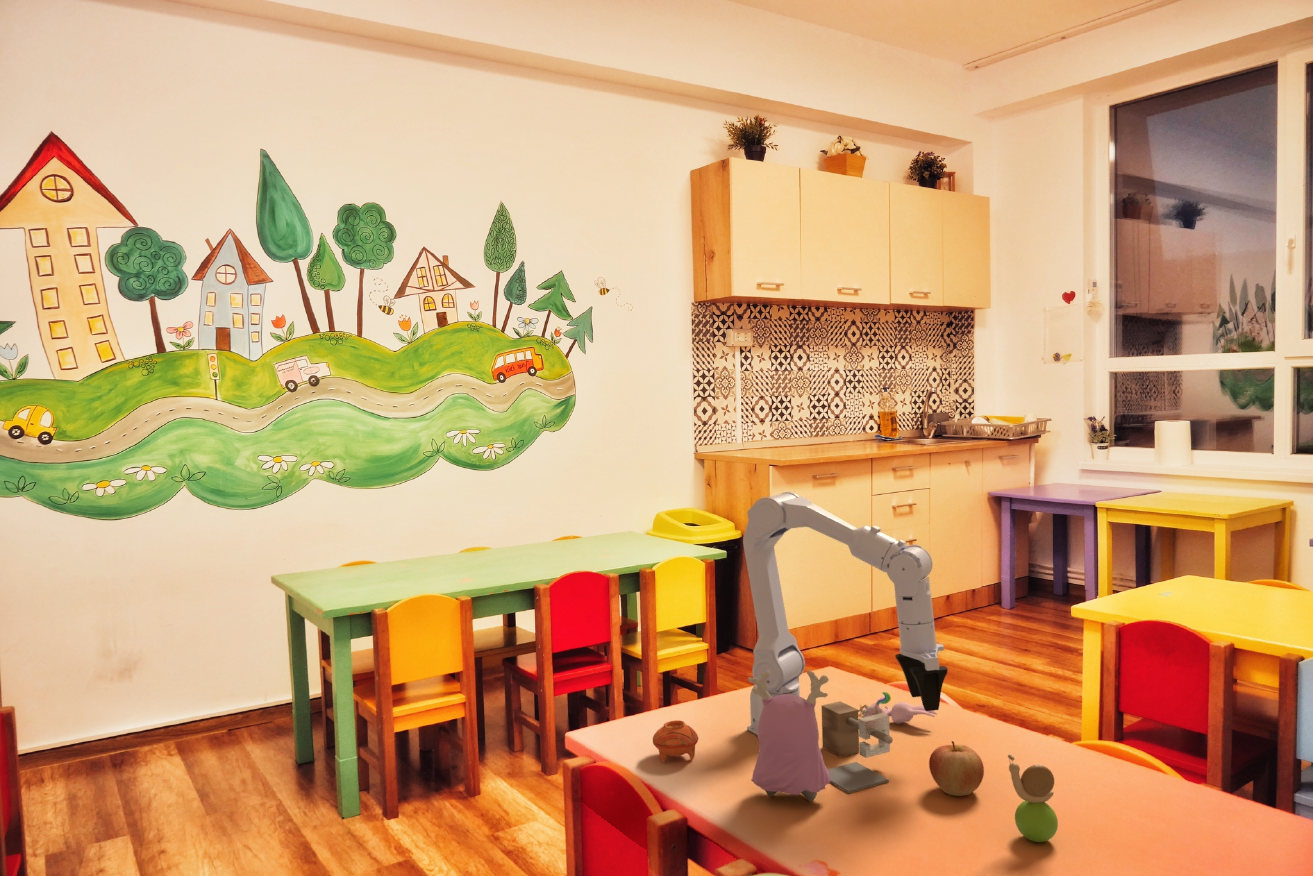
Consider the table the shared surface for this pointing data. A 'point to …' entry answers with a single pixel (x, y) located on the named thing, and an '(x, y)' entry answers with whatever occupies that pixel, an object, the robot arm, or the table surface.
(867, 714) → the rabbit figure
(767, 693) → the toy character
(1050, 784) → the snail figurine
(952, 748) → the apple
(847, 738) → the stand
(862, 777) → the mat
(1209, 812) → the table surface
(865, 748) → the link
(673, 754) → the pot
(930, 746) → the table surface
